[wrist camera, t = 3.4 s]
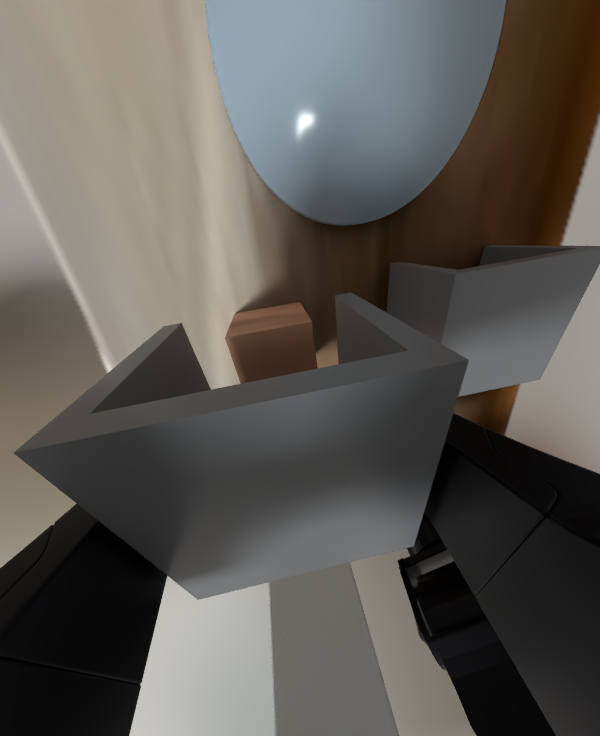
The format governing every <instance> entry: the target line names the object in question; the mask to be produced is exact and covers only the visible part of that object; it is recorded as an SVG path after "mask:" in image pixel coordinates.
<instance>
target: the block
mask: <svg viewBox="0 0 600 736" xmlns="http://www.w3.org/2000/svg"><path fill="white" fill-rule="evenodd" d="M225 339H226V342H227V345H228V348H229V351H230V354H231V357H232V359H233V362H234V365H235V368H236V371H237V374H238V377H239V380H240V383H241V384H243V383H248V382H253V381H258V380H263V379H268V378H273V377H278V376H283V375H288V374H294V373H299V372H304V371H309V370H314V369H317V362H316V353H315V344H314V336H313V327H312V321H311V319H310V318H309V316H308V314H307V313H306V311H305V309H304V308H303V306H302V305H301V303H300V302H295V303H290V304H284V305H279V306H273V307H267V308H262V309H256V310H251V311H245V312H240V313H235V314H234V317H233V319H232V322H231V324H230V327H229V329H228V332H227V334H226V337H225Z"/></svg>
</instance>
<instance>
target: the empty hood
mask: <svg viewBox="0 0 600 736" xmlns="http://www.w3.org/2000/svg"><path fill="white" fill-rule="evenodd" d="M599 264H600V246H535V245H491V246H485V247H484V249H483V253H482V256H481V260H480V264H479V266H477V267H471V268H466V269H460V270H456V269H449V268H442V267H435V266H428V265H420V264H413V263H406V262H394V263H390V269H389V284H388V300H387V313H388V314H390V315H391V316H393V317H395V318H397V319H398V320H400V321H402V322H404V323H405V324H407V325H409V326H411V327H412V328H414V329H416V330H418V331H419V332H421V333H423V334H425V335H426V336H428V337H430V338H432V339H433V340H435V341H437V342H439V343H440V344H442V345H444V346H446V347H447V348H449V349H451V350H453V351H454V352H456V353H458V354H460V355H461V356H463V357H465V358H467V359H468V360H469V362H468V365H467V369H466V372H465V376H464V379H463V382H462V386H461V389H460V392H459V396H458V397H460V396H464V395H469V394H474V393H478V392H483V391H488V390H492V389H497V388H502V387H506V386H511V385H516V384H521V383H525V382H529V381H534V380H539V379H540V378H541V376H542V375H543V373H544V371H545V368H546V367H547V365H548V363H549V361H550V359H551V357H552V355H553V353H554V351H555V349H556V347H557V345H558V343H559V342H560V339H561V338H562V336H563V334H564V332H565V330H566V328H567V326H568V324H569V322H570V320H571V318H572V316H573V314H574V312H575V311H576V308H577V307H578V305H579V303H580V301H581V299H582V297H583V295H584V293H585V291H586V289H587V287H588V285H589V283H590V281H591V280H592V278H593V276H594V274H595V272H596V270H597V268H598V266H599Z"/></svg>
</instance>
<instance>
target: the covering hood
mask: <svg viewBox="0 0 600 736" xmlns="http://www.w3.org/2000/svg"><path fill="white" fill-rule="evenodd" d="M335 308H336V325H337V342H338V360H339V365H334V366H329V367H324V368H319V369H314V370H309V371H304V372H299V373H294V374H288V375H283V376H278V377H273V378H268V379H263V380H258V381H253V382H248V383H243V384H238V385H233V386H228V387H223V388H218V389H213V390H211V389H210V387H209V385H208V382H207V380H206V378H205V376H204V373H203V371H202V369H201V366H200V364H199V362H198V360H197V357H196V355H195V353H194V351H193V348H192V346H191V344H190V341H189V339H188V337H187V335H186V332H185V330H184V328H183V326H182V323H180V324H174V325H169V326H164V327H162V328H161V329H160V330H159V331H158V332H157V333H155V334H154V335H153V336H152V337H151V338H149V339H148V340H147V341H146V342H145V343H143V344H142V345H141V346H140V347H139V348H137V349H136V350H135V351H134V352H133V353H132V354H130V355H129V356H128V357H127V358H126V359H124V360H123V361H122V362H121V363H120V364H118V365H117V366H116V367H115V368H114V369H113V370H111V371H110V372H109V373H108V374H107V375H105V376H104V377H103V378H102V379H101V380H99V381H98V382H97V383H96V384H95V385H94V386H93V387H91V388H90V389H89V390H88V391H86V392H85V393H84V394H83V395H82V396H81V397H79V398H78V399H77V400H76V401H74V402H73V403H72V404H71V405H70V406H69V407H67V408H66V409H65V410H64V411H63V412H61V413H60V414H59V415H58V416H57V417H55V418H54V419H53V420H52V421H51V422H49V423H48V424H47V425H46V426H45V427H44V428H42V429H41V430H40V431H39V432H38V433H36V434H35V435H34V436H33V437H32V438H31V439H29V440H28V441H27V442H26V443H25V444H23V445H22V446H21V447H20V448H19V449H17V450H16V451H15V452H14V454H15V455H17V456H18V457H19V458H21V459H22V460H23V461H24V462H25V463H27V464H28V465H29V466H31V467H32V468H33V469H34V470H36V471H37V472H38V473H39V474H41V475H42V476H43V477H45V478H46V479H47V480H48V481H49V482H51V483H52V484H53V485H55V486H56V487H57V488H58V489H59V490H61V491H62V492H63V493H65V494H66V495H67V496H68V497H70V498H71V499H72V500H73V501H74V502H76V503H77V504H78V505H80V506H81V507H82V508H83V509H85V510H86V511H87V512H88V513H90V514H91V515H92V516H93V517H95V518H96V519H97V520H98V521H100V522H101V523H102V524H103V525H105V526H106V527H107V528H108V529H110V530H111V531H112V532H113V533H115V534H116V535H117V536H118V537H120V538H121V539H122V540H124V541H125V542H126V543H127V544H129V545H130V546H131V547H132V548H134V549H135V550H136V551H137V552H139V553H140V554H141V555H142V556H144V557H145V558H146V559H147V560H149V561H150V562H151V563H152V564H154V565H155V566H156V567H157V568H159V569H160V570H161V571H162V572H164V573H165V574H166V575H168V576H169V577H170V578H171V579H173V580H174V581H175V582H177V583H178V584H179V585H180V586H181V587H183V588H184V589H185V590H186V591H188V592H189V593H190V594H191V595H193V596H194V597H195V598H197V599H202V598H206V597H210V596H215V595H219V594H223V593H227V592H231V591H235V590H239V589H243V588H247V587H251V586H255V585H259V584H263V583H267V582H271V581H275V580H279V579H283V578H287V577H292V576H296V575H300V574H304V573H308V572H312V571H316V570H320V569H324V568H328V567H332V566H336V565H340V564H344V563H348V562H352V561H356V560H360V559H364V558H368V557H372V556H376V555H380V554H384V553H388V552H393V551H396V550H400V549H404V548H409V547H413V546H414V544H415V540H416V537H417V534H418V530H419V527H420V524H421V520H422V517H423V513H424V510H425V507H426V503H427V500H428V497H429V493H430V490H431V487H432V483H433V480H434V476H435V473H436V470H437V466H438V463H439V460H440V456H441V453H442V450H443V446H444V443H445V439H446V436H447V433H448V429H449V426H450V423H451V419H452V416H453V413H454V409H455V406H456V402H457V399H458V396H459V392H460V389H461V386H462V382H463V379H464V376H465V372H466V369H467V365H468V362H469V360H468V359H467V358H465V357H463V356H461V355H460V354H458V353H456V352H454V351H453V350H451V349H449V348H447V347H446V346H444V345H442V344H440V343H439V342H437V341H435V340H433V339H432V338H430V337H428V336H426V335H425V334H423V333H421V332H419V331H418V330H416V329H414V328H412V327H411V326H409V325H407V324H405V323H404V322H402V321H400V320H398V319H397V318H395V317H393V316H391V315H390V314H388V313H386V312H384V311H383V310H381V309H379V308H377V307H376V306H374V305H372V304H370V303H369V302H367V301H365V300H363V299H362V298H360V297H358V296H356V295H355V294H353V293H345V294H340V295H335Z"/></svg>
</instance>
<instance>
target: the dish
mask: <svg viewBox="0 0 600 736" xmlns="http://www.w3.org/2000/svg"><path fill="white" fill-rule="evenodd" d="M505 5H506V0H205V6H206V15H207V25H208V34H209V40H210V46H211V51H212V56H213V62H214V67H215V71H216V75H217V79H218V82H219V86H220V89H221V93H222V97H223V100H224V104H225V107H226V111H227V114H228V117H229V119H230V122H231V125H232V127H233V130H234V133H235V135H236V137H237V140H238V142H239V144H240V146H241V148H242V150H243V152H244V154H245V156H246V158H247V159H248V161H249V163H250V164H251V166H252V167H253V169H254V171H255V172H256V174H257V175H258V176H259V178H260V179H261V180H262V182H263V183H264V184H265V185H266V187H267V188H268V189H269V190H270V191H271V192H272V193H273V194H274V195H275V196H276V197H277V198H278V199H279V200H280V201H281V202H282V203H284V204H285V205H286V206H288V207H289V208H290V209H291V210H293V211H295V212H296V213H298V214H300V215H301V216H303V217H305V218H308V219H310V220H313V221H315V222H318V223H322V224H327V225H335V226H348V225H357V224H362V223H367V222H370V221H374V220H378V219H380V218H382V217H385V216H387V215H389V214H392V213H393V212H395V211H397V210H398V209H400V208H402V207H403V206H405V205H406V204H408V203H409V202H410V201H411V200H413V199H414V198H415V197H416V196H418V195H419V194H420V193H421V192H422V191H423V190H424V189H425V188H426V187H427V186H428V185H429V184H430V183H431V182H432V181H433V180H434V178H435V177H436V176H437V175H438V174H439V173H440V171H441V170H442V169H443V168H444V166H445V165H446V163H447V162H448V161H449V159H450V158H451V156H452V155H453V153H454V152H455V150H456V149H457V147H458V145H459V143H460V142H461V140H462V138H463V137H464V135H465V133H466V131H467V129H468V127H469V125H470V123H471V121H472V119H473V117H474V115H475V112H476V110H477V108H478V106H479V103H480V100H481V98H482V95H483V93H484V90H485V87H486V85H487V82H488V79H489V75H490V72H491V69H492V65H493V62H494V59H495V55H496V51H497V47H498V42H499V38H500V34H501V29H502V24H503V18H504V12H505Z"/></svg>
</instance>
